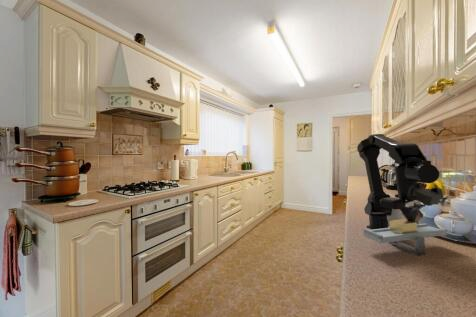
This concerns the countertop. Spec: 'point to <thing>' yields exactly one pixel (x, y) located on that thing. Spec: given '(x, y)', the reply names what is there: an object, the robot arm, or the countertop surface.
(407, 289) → the countertop surface
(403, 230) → the pale yellow block
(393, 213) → the cup
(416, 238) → the stand
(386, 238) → the beam
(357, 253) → the countertop surface
